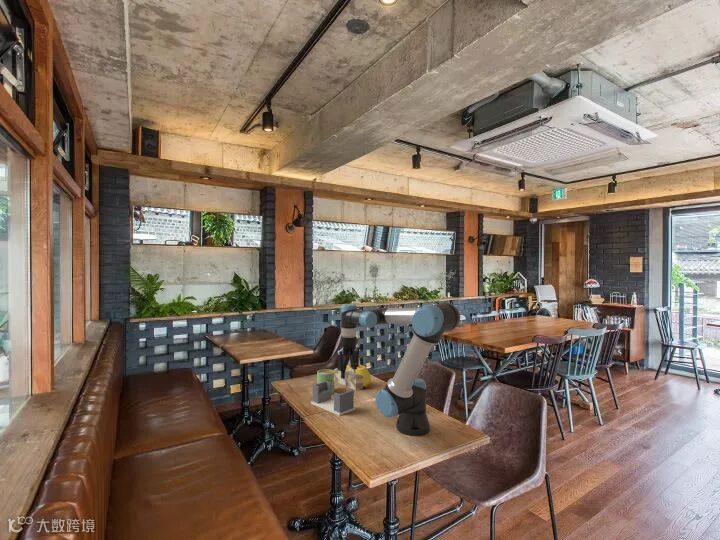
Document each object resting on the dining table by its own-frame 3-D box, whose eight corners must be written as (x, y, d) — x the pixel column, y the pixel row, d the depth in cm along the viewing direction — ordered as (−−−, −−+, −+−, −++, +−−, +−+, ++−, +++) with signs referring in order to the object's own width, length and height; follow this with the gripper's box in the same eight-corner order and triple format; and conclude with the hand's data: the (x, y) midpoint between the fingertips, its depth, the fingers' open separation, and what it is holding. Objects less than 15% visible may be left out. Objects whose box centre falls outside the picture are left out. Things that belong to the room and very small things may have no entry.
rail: (362, 388, 180) (363, 375, 179) (355, 390, 177) (355, 377, 176) (340, 379, 192) (340, 367, 192) (333, 380, 189) (333, 369, 189)
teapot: (337, 383, 238) (337, 361, 238) (357, 379, 247) (357, 358, 246) (354, 392, 221) (354, 369, 221) (375, 387, 230) (376, 365, 230)
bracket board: (355, 409, 195) (355, 390, 195) (339, 415, 187) (339, 395, 187) (326, 398, 212) (326, 380, 211) (310, 403, 204) (310, 385, 204)
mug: (328, 396, 215) (328, 375, 215) (313, 393, 220) (313, 372, 220) (340, 389, 226) (340, 369, 225) (326, 386, 231) (326, 367, 231)
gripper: (356, 332, 193) (355, 377, 193) (329, 337, 180) (329, 385, 181) (366, 334, 187) (366, 381, 188) (340, 339, 175) (339, 389, 175)
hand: (348, 383), depth 184 cm, fingers closed on rail, 5 cm apart
